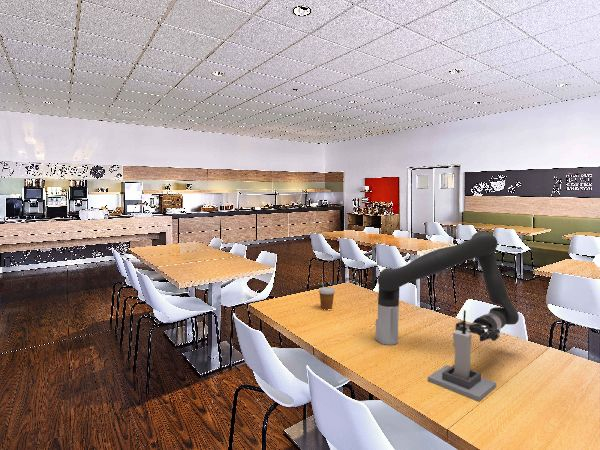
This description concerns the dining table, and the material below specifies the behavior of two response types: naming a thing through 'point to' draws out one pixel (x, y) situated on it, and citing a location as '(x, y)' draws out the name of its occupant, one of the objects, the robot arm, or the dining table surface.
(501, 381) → the dining table surface
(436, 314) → the dining table surface
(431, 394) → the dining table surface
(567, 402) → the dining table surface
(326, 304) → the disposable coffee cup
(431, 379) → the dock board
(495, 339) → the robot arm
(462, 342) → the vintage mobile phone
